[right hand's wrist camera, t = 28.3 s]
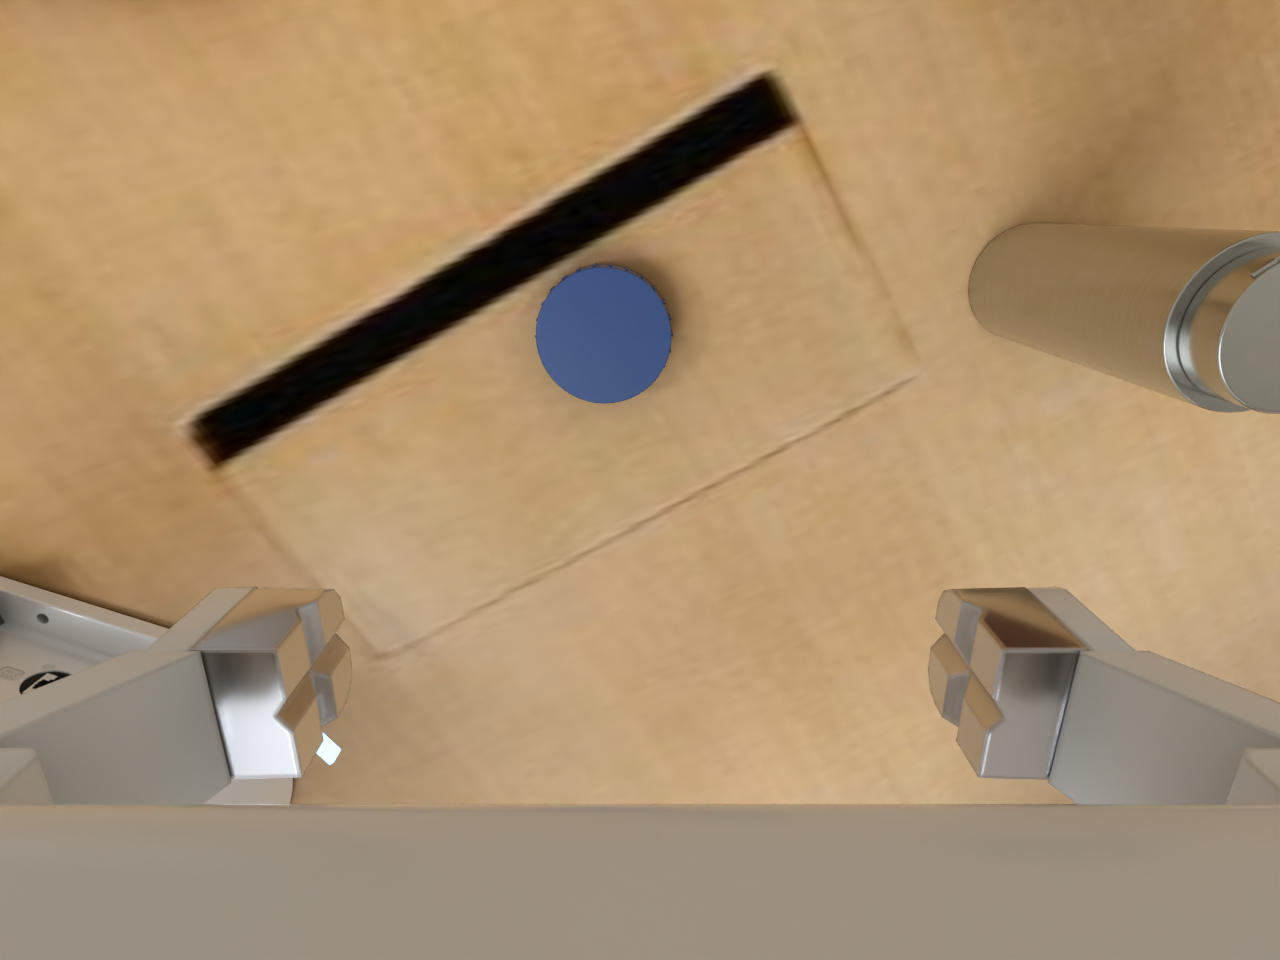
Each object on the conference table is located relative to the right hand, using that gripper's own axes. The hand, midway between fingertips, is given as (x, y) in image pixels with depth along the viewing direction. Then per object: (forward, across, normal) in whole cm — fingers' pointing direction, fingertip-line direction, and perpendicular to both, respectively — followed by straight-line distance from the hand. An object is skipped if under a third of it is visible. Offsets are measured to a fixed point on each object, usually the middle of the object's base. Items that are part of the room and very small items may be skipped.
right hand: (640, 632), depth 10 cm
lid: (+25, -2, 0) cm, 25 cm away
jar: (+26, +18, +2) cm, 32 cm away
